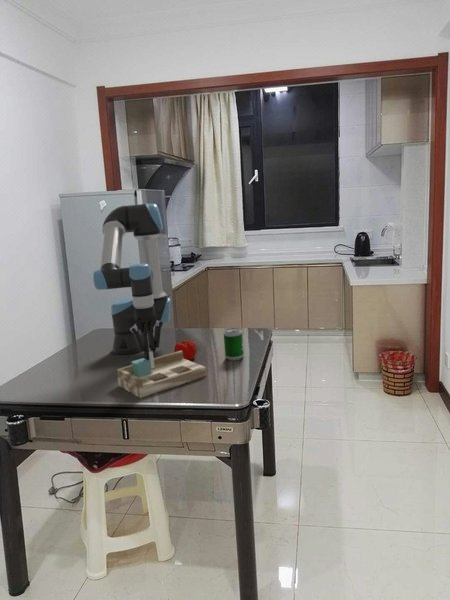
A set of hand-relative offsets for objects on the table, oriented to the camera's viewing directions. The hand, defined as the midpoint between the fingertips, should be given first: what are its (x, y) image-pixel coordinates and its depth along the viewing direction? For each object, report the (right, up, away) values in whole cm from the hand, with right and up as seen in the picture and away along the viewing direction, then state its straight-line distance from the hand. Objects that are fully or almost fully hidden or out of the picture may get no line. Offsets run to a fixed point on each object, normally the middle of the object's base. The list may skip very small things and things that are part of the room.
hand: (151, 367), depth 191 cm
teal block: (-3, -2, -2) cm, 4 cm away
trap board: (+4, -5, -1) cm, 7 cm away
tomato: (+12, 0, +22) cm, 25 cm away
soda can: (+32, +1, +18) cm, 37 cm away
